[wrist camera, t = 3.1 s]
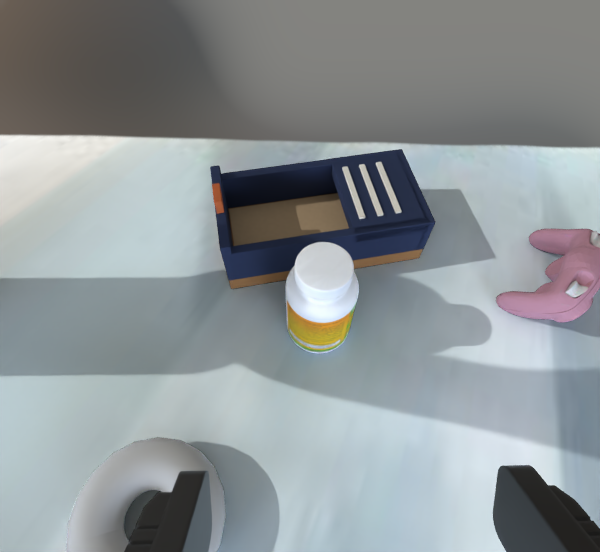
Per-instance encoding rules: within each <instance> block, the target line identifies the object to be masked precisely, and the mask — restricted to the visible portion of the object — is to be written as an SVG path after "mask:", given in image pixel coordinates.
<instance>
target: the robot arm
mask: <svg viewBox="0 0 600 552" xmlns="http://www.w3.org/2000/svg"><path fill="white" fill-rule="evenodd" d="M493 520H494V525H495V529H496V532H497V535H498V537H499V539H500V541H501V543H502V545H503V546H504V548H505V550H506V552H600V528H599V527H598V526H597V525H596V524H595V523H594V521H591V520H590V517H589V516H588V514H587V513H586V512H585V511H584V510H583V509H582V508H581V506H580V505H579V504H578V503H577V502H576V501H575V500H574V499H573V498H571V497H570V496H569V495H567V494H566V493H564V492H563V491H562V490H560V489H559V488H557V487H556V486H555V485H552V486H548V485H547V484H546V482H545V481H544V480H543V479H542V478H541V476H540V475H539V474H538V473H537V471H536V470H535V469H534V468H533V467H532V466H530V465H516V466H501V467H500V468H499V470H498V475H497V483H496V491H495V500H494V508H493ZM211 533H212V508H211V494H210V479H209V472H208V471H180V472H179V474H178V477H177V479H176V482H175V484H174V487H173V490H172V492H158V493H157V494H156V495H155V496H154V497H153V499H152V500H151V501H150V502H149V503H148V504H147V505H146V506H145V507H144V508H143V510H142V513H141V515H140V517H139V519H138V522H137V524H136V528H135V529H134V531H133V533H132V535H131V537H130V540H129V544H128V545H127V546H126V549H125V551H124V552H208V550H209V546H210V541H211Z"/></svg>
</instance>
